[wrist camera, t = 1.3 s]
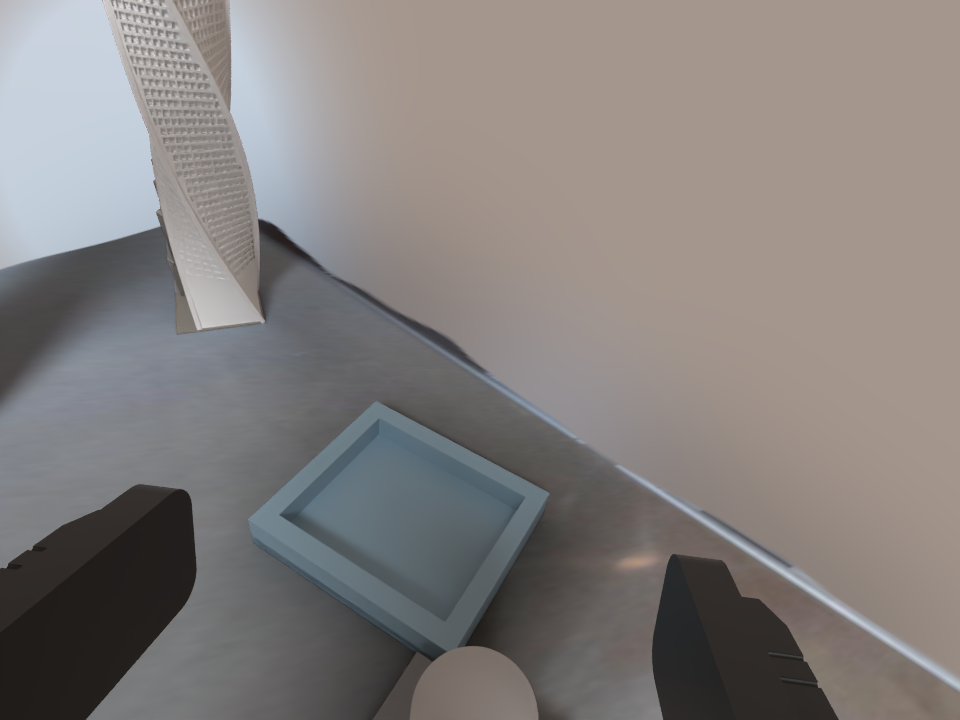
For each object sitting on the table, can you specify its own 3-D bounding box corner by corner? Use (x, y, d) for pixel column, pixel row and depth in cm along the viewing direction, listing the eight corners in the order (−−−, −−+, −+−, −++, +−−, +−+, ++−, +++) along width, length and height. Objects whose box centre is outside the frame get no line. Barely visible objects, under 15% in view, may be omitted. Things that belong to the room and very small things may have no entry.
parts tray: (253, 543, 35) (248, 519, 34) (375, 424, 44) (375, 400, 42) (448, 674, 31) (452, 655, 29) (542, 515, 39) (549, 493, 38)
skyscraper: (272, 279, 56) (224, -79, 38) (284, 330, 51) (236, -59, 33) (175, 290, 53) (74, -94, 35) (178, 345, 48) (59, -74, 30)
